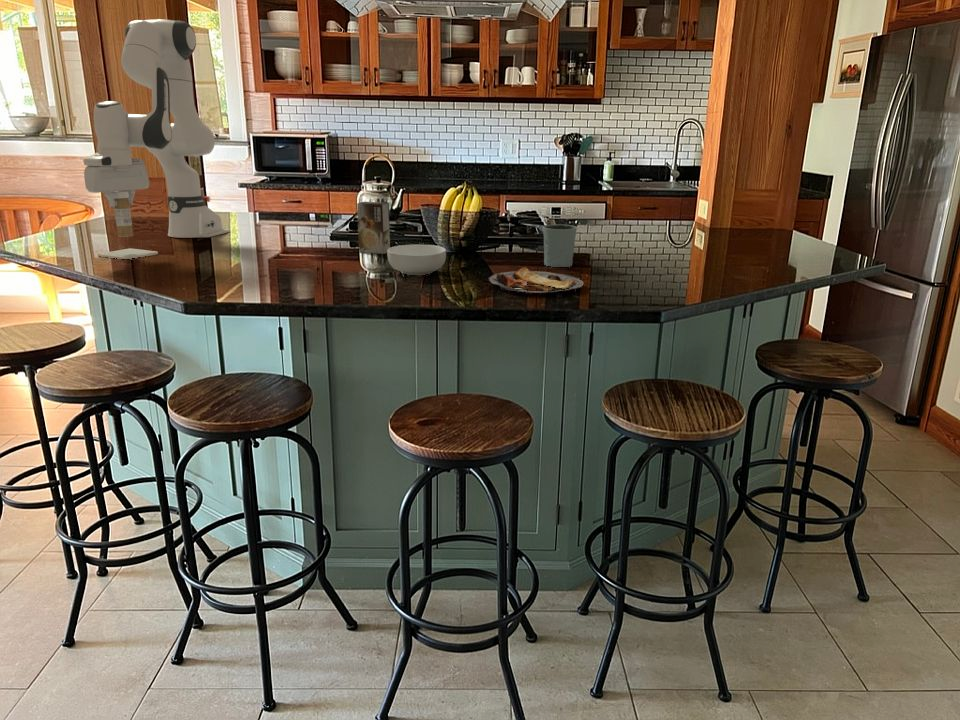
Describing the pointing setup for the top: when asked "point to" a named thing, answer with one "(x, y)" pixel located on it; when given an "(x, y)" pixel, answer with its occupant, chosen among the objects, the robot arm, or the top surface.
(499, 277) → the food plate
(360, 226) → the coffee box
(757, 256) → the top surface
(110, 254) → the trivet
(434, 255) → the cereal bowl
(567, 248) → the grey tapered cup
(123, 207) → the sprinkles bottle
